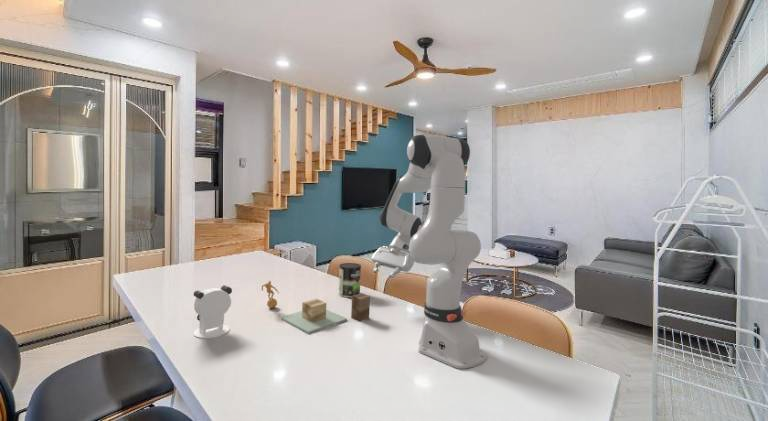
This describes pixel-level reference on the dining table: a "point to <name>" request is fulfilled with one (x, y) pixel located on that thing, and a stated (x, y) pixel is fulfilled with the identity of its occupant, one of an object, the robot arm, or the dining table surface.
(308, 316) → the base brick
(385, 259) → the robot arm
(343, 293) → the coffee can
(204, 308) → the panda figurine
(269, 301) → the figurine
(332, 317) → the plate
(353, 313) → the walnut brick
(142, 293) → the dining table surface
